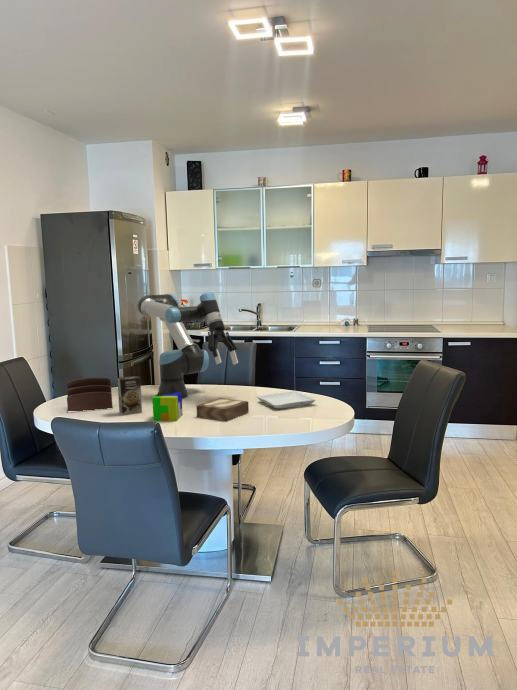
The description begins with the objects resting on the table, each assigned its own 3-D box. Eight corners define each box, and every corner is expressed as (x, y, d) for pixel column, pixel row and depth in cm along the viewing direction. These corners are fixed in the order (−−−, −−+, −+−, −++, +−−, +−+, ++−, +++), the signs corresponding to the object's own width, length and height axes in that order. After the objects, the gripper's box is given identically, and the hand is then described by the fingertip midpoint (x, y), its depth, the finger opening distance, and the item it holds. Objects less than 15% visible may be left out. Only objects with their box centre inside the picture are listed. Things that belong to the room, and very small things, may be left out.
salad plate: (275, 412, 224) (274, 404, 224) (256, 402, 244) (255, 395, 243) (317, 406, 233) (316, 398, 232) (295, 397, 252) (295, 390, 252)
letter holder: (68, 408, 242) (66, 379, 241) (112, 404, 248) (110, 376, 246) (67, 413, 233) (65, 382, 231) (112, 409, 238) (110, 379, 237)
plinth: (196, 416, 219) (196, 405, 218) (219, 408, 232) (219, 397, 231) (226, 421, 210) (226, 409, 209) (248, 412, 223) (248, 401, 222)
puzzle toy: (182, 415, 223) (181, 392, 222) (176, 421, 213) (175, 397, 212) (160, 415, 224) (159, 392, 223) (153, 421, 214) (152, 397, 213)
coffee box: (122, 415, 225) (119, 379, 223) (119, 412, 230) (116, 377, 228) (142, 412, 229) (140, 377, 227) (139, 409, 234) (137, 375, 233)
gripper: (204, 317, 236) (217, 360, 230) (235, 321, 257) (248, 361, 251) (193, 323, 239) (205, 366, 234) (224, 327, 260) (236, 366, 255)
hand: (227, 363), depth 243 cm, fingers open, 13 cm apart
